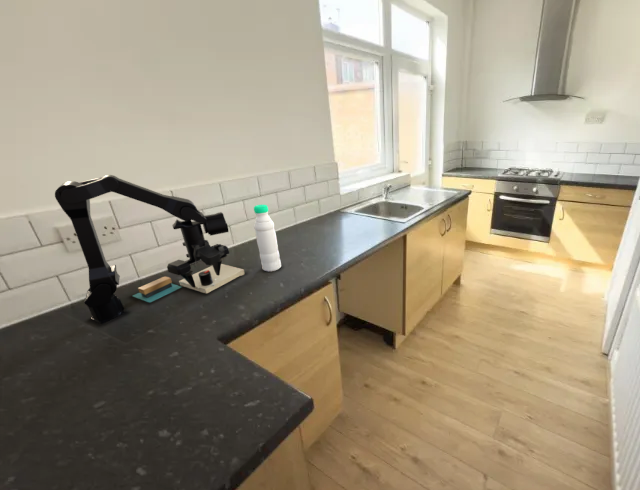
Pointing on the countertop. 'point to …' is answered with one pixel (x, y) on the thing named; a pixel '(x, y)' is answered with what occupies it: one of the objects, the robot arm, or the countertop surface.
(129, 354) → the countertop surface
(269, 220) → the water bottle
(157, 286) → the brush
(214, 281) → the cream rectangular board
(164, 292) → the dish cloth
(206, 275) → the knob
